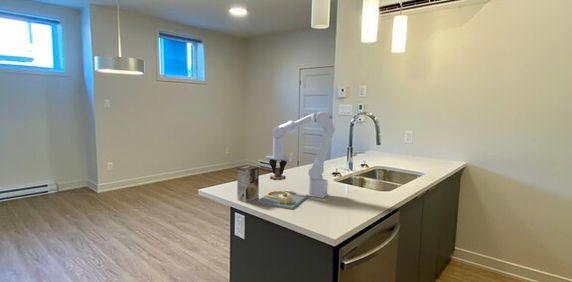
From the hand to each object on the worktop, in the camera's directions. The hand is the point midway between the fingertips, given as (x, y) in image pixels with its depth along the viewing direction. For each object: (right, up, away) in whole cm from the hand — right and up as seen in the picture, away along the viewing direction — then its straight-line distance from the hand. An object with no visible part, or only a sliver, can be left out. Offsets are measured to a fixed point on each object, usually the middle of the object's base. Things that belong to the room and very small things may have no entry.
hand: (277, 173), depth 169 cm
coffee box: (-15, -11, -14) cm, 23 cm away
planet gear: (0, -3, 0) cm, 3 cm away
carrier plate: (+2, -12, -15) cm, 19 cm away
